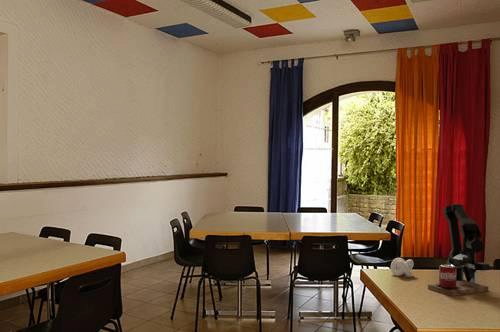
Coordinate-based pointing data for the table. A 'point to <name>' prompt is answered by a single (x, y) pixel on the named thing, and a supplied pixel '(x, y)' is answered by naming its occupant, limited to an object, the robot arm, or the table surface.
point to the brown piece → (461, 287)
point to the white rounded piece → (402, 267)
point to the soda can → (447, 277)
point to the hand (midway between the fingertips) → (468, 281)
